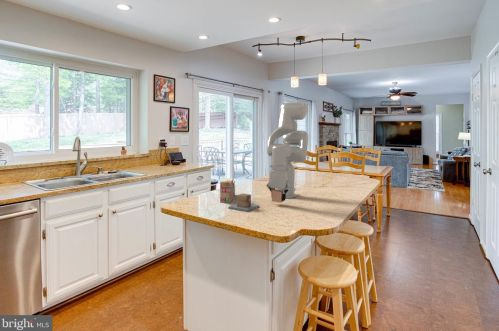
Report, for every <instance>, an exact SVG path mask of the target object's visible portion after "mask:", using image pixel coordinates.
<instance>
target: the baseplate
mask: <svg viewBox="0 0 499 331" xmlns="http://www.w3.org/2000/svg"><path fill="white" fill-rule="evenodd" d="M259 207H260V205H259V204H254V203H251V206H249V207H246V208H244V207H238V206H237V203H235V204H231V205H229V206H228V209H230V210H236V211H241V212H246V213H248V212H251V211H253V210H256V209H258V208H259Z"/></svg>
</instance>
